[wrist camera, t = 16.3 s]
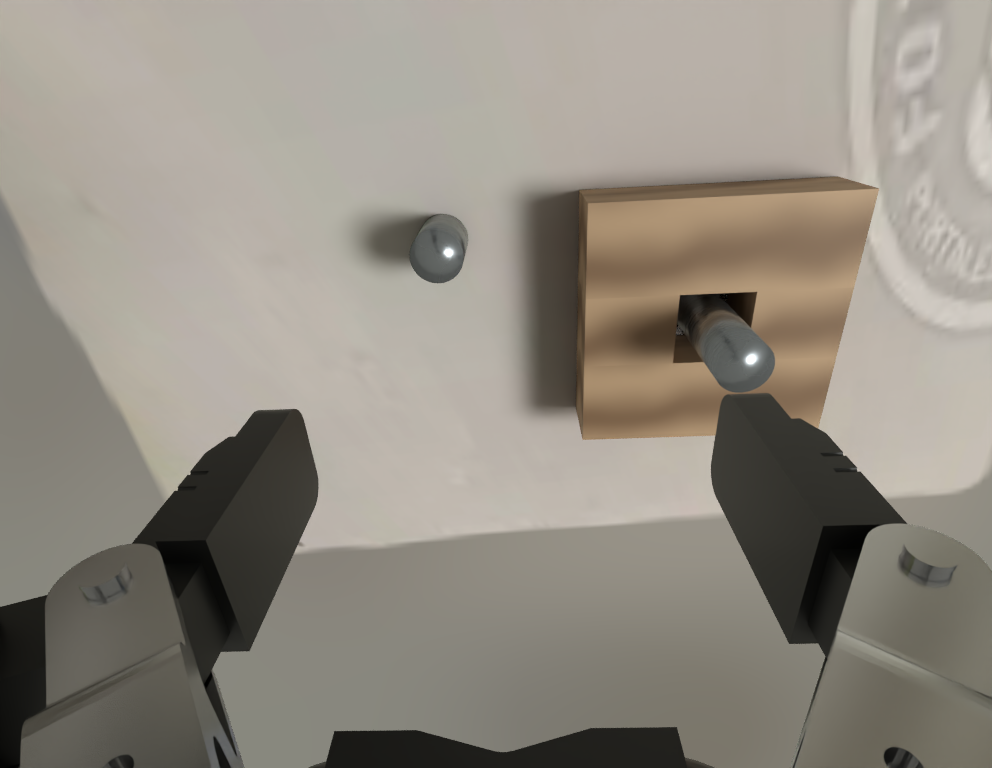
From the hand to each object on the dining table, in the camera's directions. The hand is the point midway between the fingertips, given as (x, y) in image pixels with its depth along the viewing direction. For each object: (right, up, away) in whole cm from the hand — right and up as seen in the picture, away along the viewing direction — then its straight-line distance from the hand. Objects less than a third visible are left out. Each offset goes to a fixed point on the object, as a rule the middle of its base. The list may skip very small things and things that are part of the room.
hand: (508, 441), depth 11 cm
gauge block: (+15, +7, +33) cm, 37 cm away
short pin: (-4, +12, +31) cm, 34 cm away
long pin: (+15, +7, +33) cm, 37 cm away
